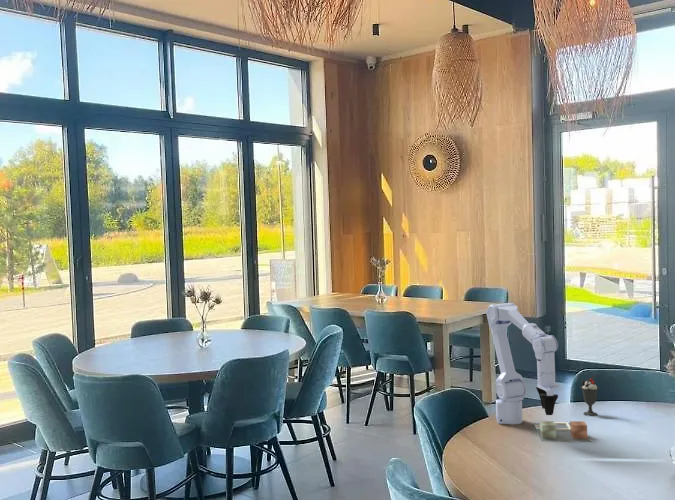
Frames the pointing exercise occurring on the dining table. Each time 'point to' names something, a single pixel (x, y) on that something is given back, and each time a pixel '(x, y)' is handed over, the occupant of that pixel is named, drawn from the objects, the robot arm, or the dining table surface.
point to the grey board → (561, 433)
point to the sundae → (589, 395)
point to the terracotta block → (578, 429)
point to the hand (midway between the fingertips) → (547, 411)
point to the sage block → (547, 429)
